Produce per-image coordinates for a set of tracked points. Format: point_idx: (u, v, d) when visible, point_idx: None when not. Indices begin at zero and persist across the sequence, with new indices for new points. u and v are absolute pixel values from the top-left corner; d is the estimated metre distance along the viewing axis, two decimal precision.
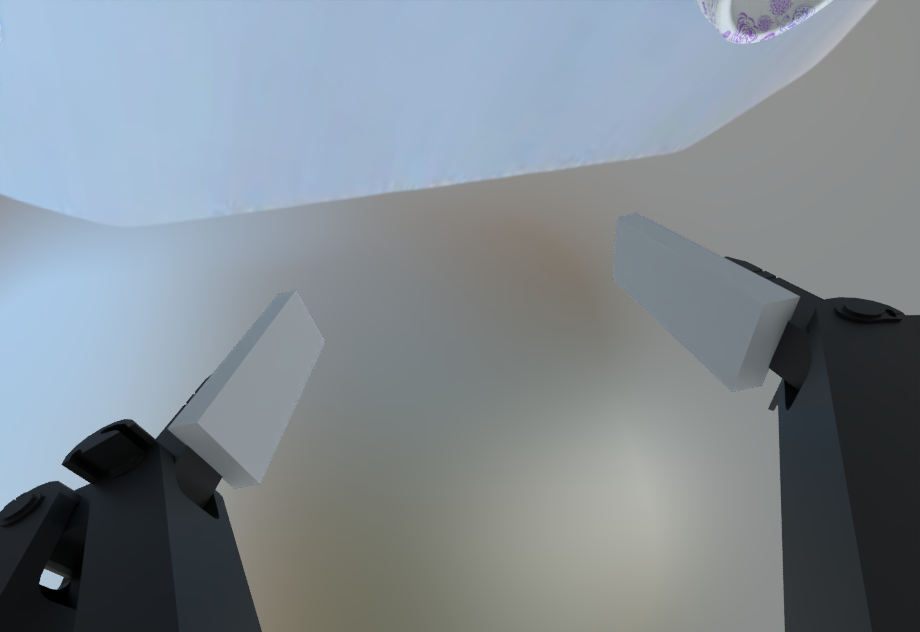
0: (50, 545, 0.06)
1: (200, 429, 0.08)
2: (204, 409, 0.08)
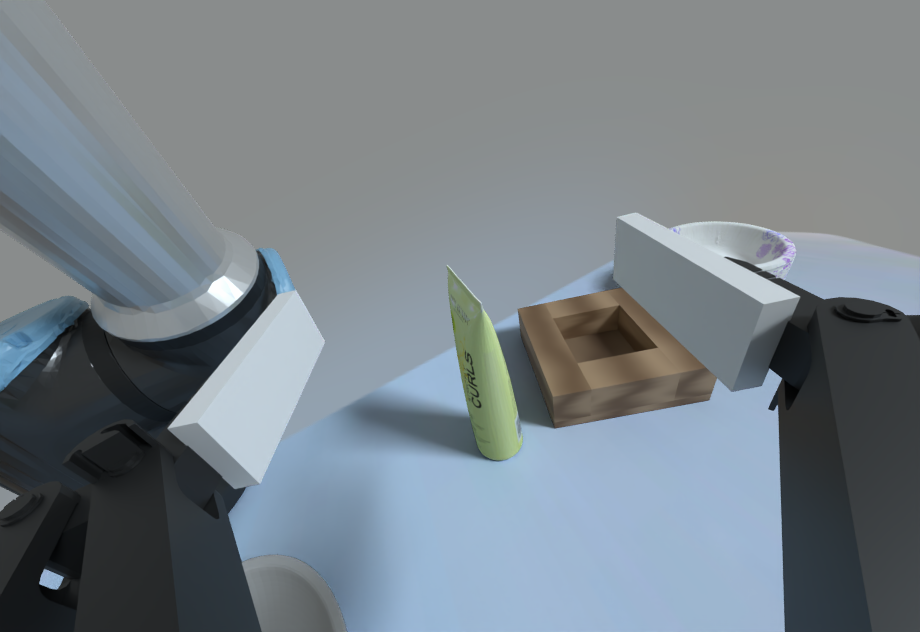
0: (50, 545, 0.06)
1: (200, 429, 0.08)
2: (204, 409, 0.08)
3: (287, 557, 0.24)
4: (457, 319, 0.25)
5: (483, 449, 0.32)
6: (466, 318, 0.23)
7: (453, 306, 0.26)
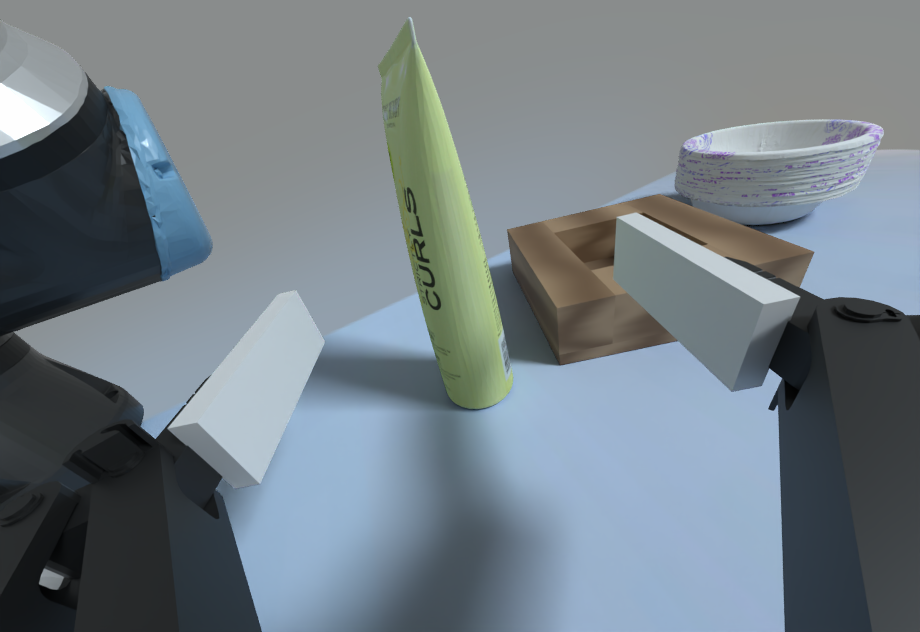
0: (50, 545, 0.06)
1: (200, 429, 0.08)
2: (204, 409, 0.08)
3: None
4: (391, 138, 0.15)
5: (452, 392, 0.21)
6: (397, 105, 0.13)
7: (386, 122, 0.15)
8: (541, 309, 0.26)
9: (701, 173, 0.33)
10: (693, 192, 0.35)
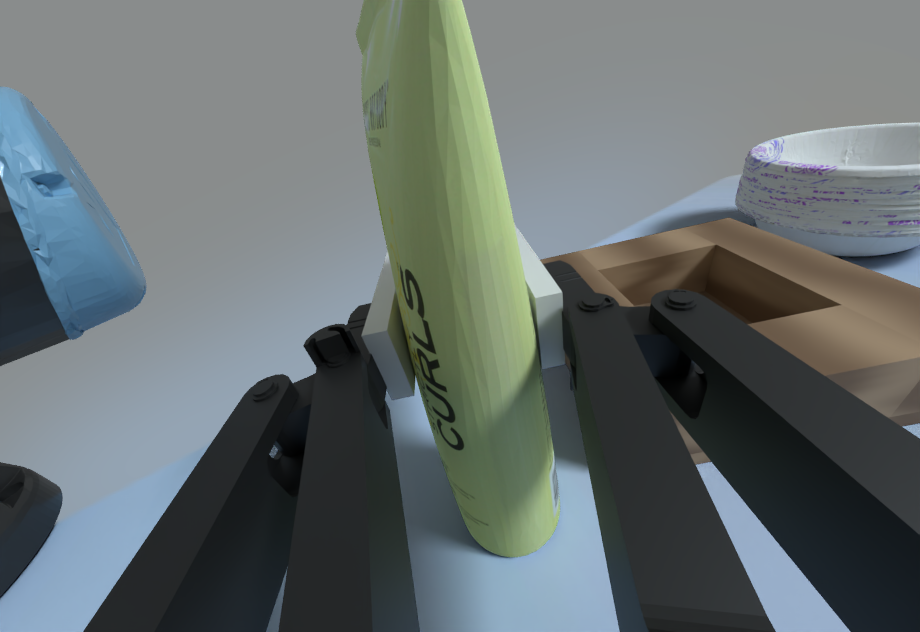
0: (277, 430, 0.07)
1: (386, 337, 0.09)
2: (386, 322, 0.09)
3: None
4: (376, 166, 0.08)
5: (473, 532, 0.14)
6: (382, 102, 0.06)
7: (368, 134, 0.08)
8: None
9: (782, 191, 0.26)
10: (768, 214, 0.28)
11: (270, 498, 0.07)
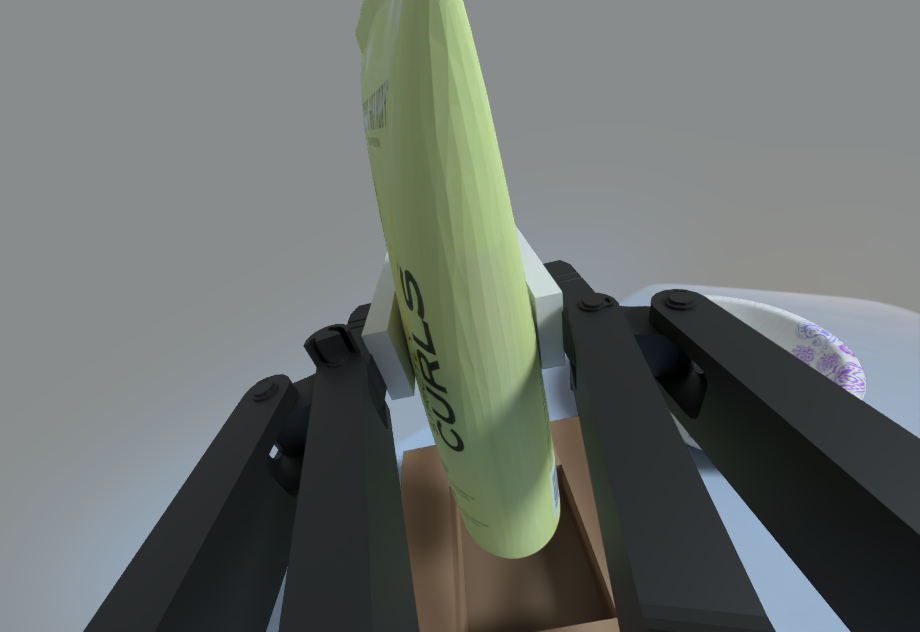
0: (277, 430, 0.07)
1: (386, 337, 0.09)
2: (386, 322, 0.09)
3: None
4: (375, 167, 0.08)
5: (474, 533, 0.14)
6: (382, 101, 0.05)
7: (368, 134, 0.08)
8: None
9: None
10: None
11: (270, 498, 0.07)
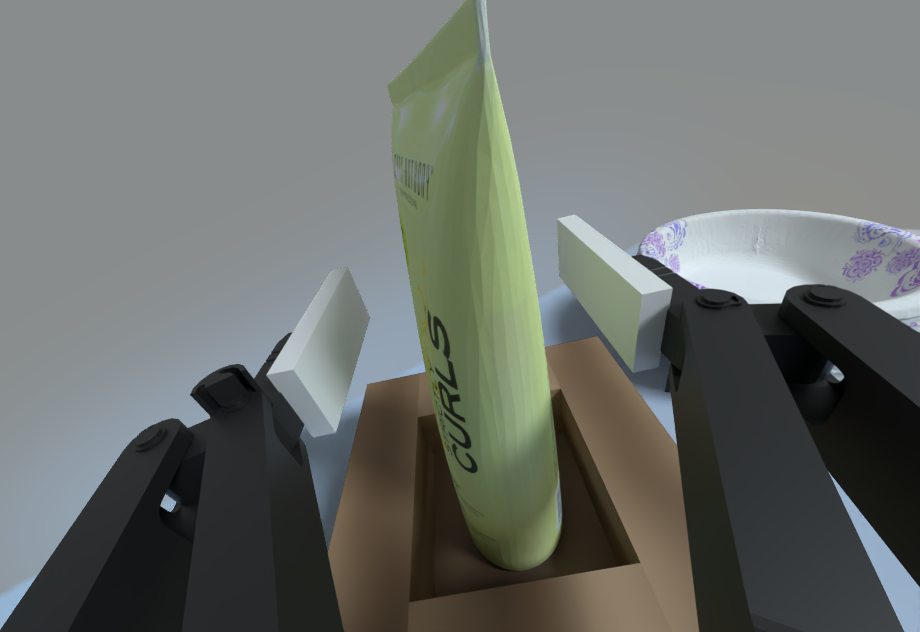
0: (169, 477, 0.07)
1: (294, 376, 0.09)
2: (296, 359, 0.09)
3: None
4: (407, 217, 0.08)
5: (480, 546, 0.15)
6: (424, 177, 0.06)
7: (399, 184, 0.09)
8: None
9: None
10: None
11: (167, 549, 0.06)
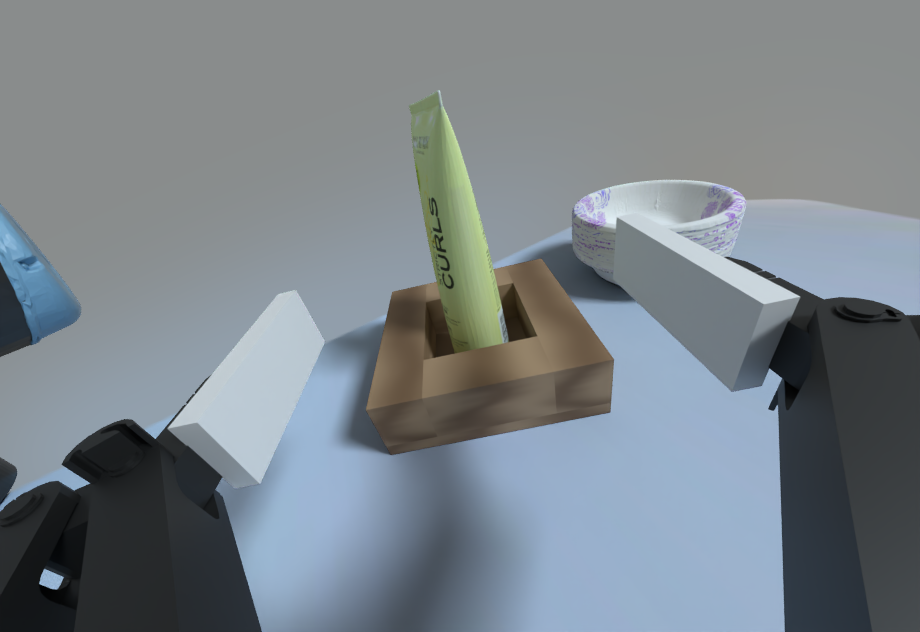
0: (50, 545, 0.06)
1: (200, 429, 0.08)
2: (204, 409, 0.08)
3: None
4: (419, 161, 0.20)
5: None
6: (426, 141, 0.18)
7: (416, 148, 0.21)
8: None
9: (582, 238, 0.33)
10: (580, 254, 0.35)
11: (53, 626, 0.06)
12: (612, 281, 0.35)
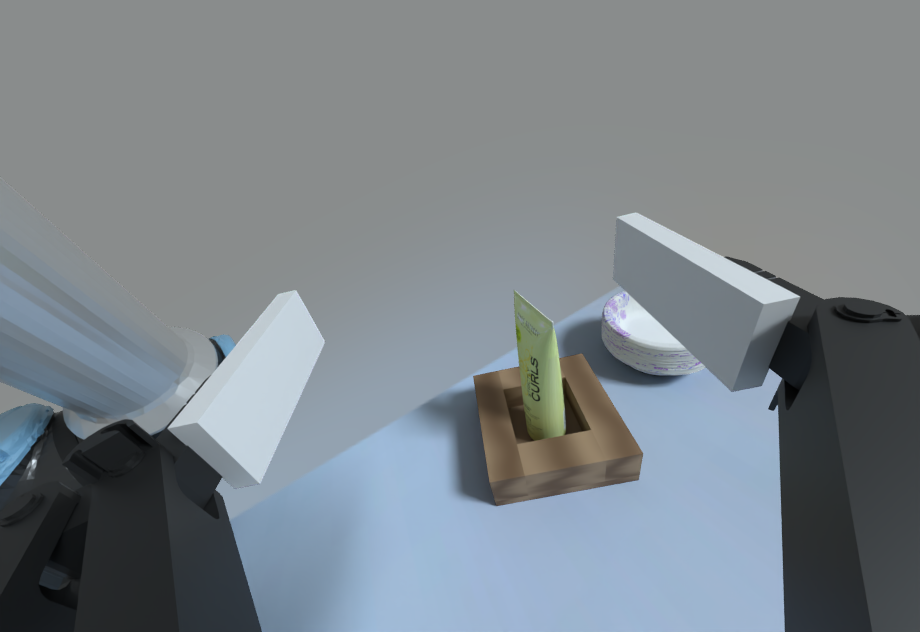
0: (50, 545, 0.06)
1: (200, 429, 0.08)
2: (204, 409, 0.08)
3: None
4: (525, 332, 0.33)
5: (535, 435, 0.40)
6: (536, 332, 0.31)
7: (521, 322, 0.34)
8: None
9: (611, 339, 0.46)
10: (609, 347, 0.48)
11: (53, 626, 0.06)
12: (632, 367, 0.48)
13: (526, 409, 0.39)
